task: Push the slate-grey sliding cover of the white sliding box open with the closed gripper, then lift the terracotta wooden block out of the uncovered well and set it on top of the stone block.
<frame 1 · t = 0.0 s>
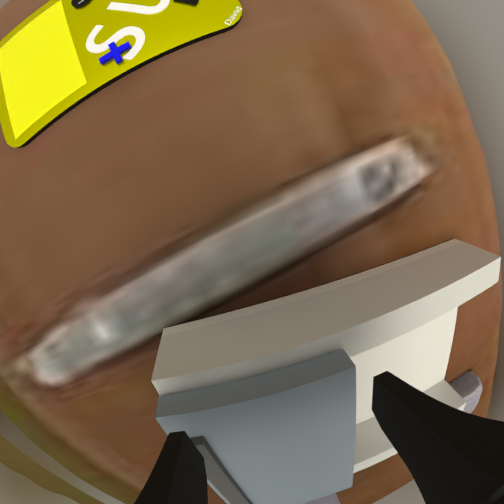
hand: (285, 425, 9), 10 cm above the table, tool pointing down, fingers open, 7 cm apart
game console: (97, 29, 13), on the table
slide cover: (280, 465, 15), point 7 cm above the table, slide at 0.0 cm
stone block: (431, 408, 27), on the table
white sliding box: (343, 374, 22), on the table
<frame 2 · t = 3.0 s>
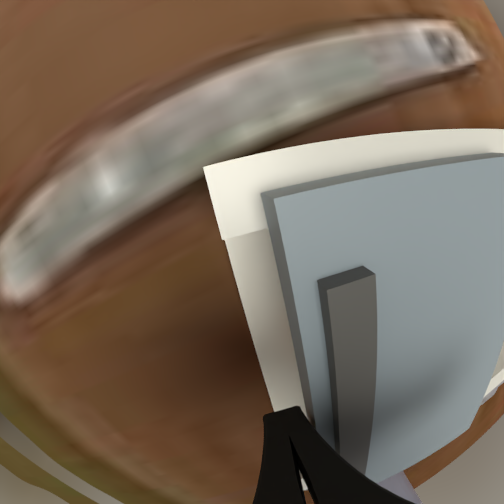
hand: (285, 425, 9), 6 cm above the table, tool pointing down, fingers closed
slide cover: (428, 376, 9), point 7 cm above the table, slide at 1.3 cm, touching gripper
white sliding box: (432, 276, 16), on the table
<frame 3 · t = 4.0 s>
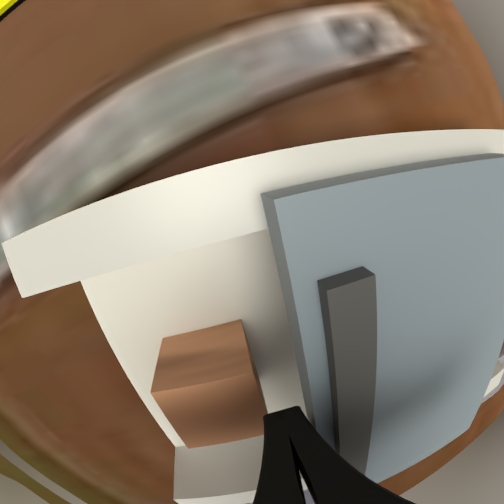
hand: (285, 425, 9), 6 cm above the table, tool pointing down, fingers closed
block: (212, 360, 14), point 1 cm above the table, touching white sliding box
slide cover: (428, 376, 9), point 7 cm above the table, slide at 8.5 cm, touching gripper
white sliding box: (334, 314, 15), on the table
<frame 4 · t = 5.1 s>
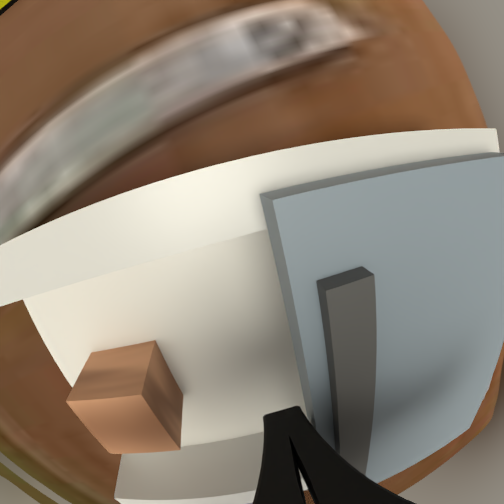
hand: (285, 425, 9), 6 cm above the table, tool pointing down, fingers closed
block: (137, 375, 14), point 1 cm above the table, touching white sliding box
slide cover: (428, 375, 9), point 7 cm above the table, slide at 12.9 cm, touching gripper
white sliding box: (258, 337, 15), on the table
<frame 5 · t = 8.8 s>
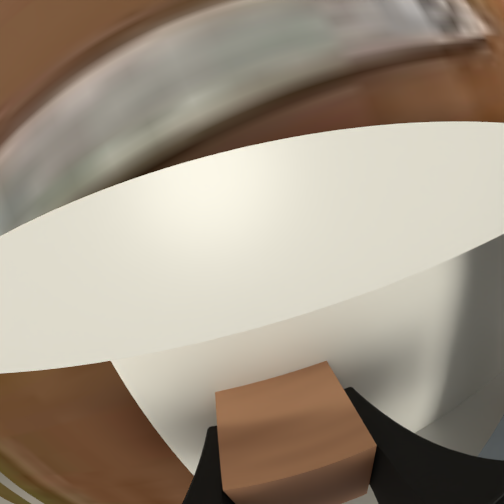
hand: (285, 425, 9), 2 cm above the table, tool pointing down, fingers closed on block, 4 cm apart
block: (281, 412, 10), point 1 cm above the table, touching gripper, white sliding box
white sliding box: (419, 339, 11), on the table
when the fingers open (6 cm above the table, at t = 12.6 s): block drops 2 cm, resting on stone block.
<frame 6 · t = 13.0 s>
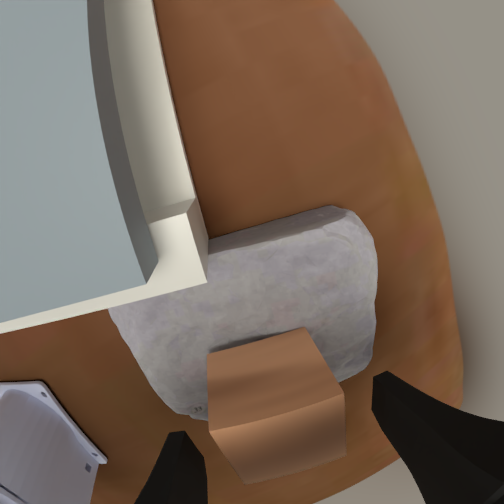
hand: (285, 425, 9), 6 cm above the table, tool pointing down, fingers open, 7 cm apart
block: (266, 377, 11), point 4 cm above the table, touching stone block
stone block: (252, 315, 15), on the table, touching block
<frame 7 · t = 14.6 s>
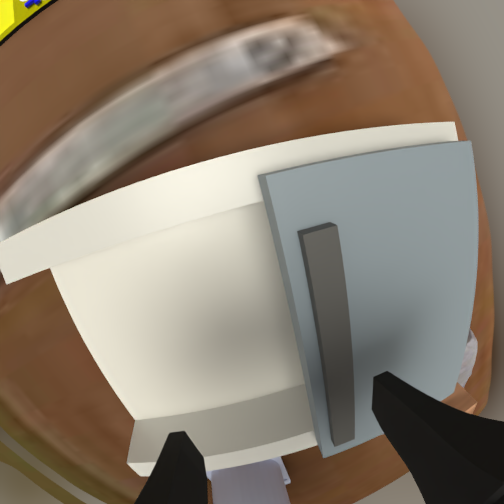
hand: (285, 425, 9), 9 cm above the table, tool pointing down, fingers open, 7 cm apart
block: (433, 401, 20), point 4 cm above the table, touching stone block
slide cover: (402, 326, 12), point 7 cm above the table, slide at 12.9 cm
stone block: (412, 375, 23), on the table, touching block
white sliding box: (259, 304, 18), on the table
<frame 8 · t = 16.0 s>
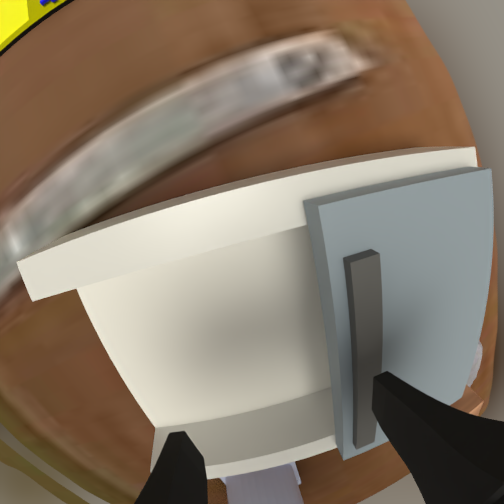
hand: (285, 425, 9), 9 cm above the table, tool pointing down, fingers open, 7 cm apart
block: (442, 401, 20), point 4 cm above the table, touching stone block
slide cover: (422, 338, 12), point 7 cm above the table, slide at 12.9 cm
white sliding box: (283, 316, 18), on the table
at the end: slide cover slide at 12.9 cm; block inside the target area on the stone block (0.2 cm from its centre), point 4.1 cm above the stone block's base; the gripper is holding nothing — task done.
